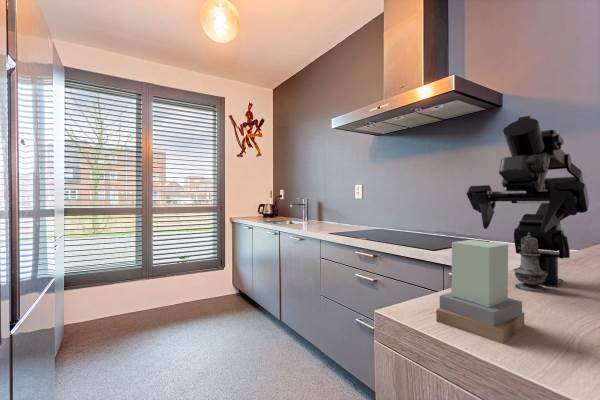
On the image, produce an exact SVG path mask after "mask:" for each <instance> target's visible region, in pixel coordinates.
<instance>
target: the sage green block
mask: <svg viewBox="0 0 600 400" xmlns="http://www.w3.org/2000/svg"><path fill="white" fill-rule="evenodd" d="M508 288H509V243H500V242H492V241H482V240H476V239H466V240H460V241H459V240H457V241H451V288H450V289H451V292H450V293H451V296H454V297H457V298H460V299H463V300H467V301H470V302H473V303H477V304H480V305H483V306H486V307H491V306H494V305H496V304H499V303H502V302H504V301H507V300H508V298H509V297H508V295H509V294H508V293H509V292H508V290H509V289H508Z"/></svg>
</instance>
